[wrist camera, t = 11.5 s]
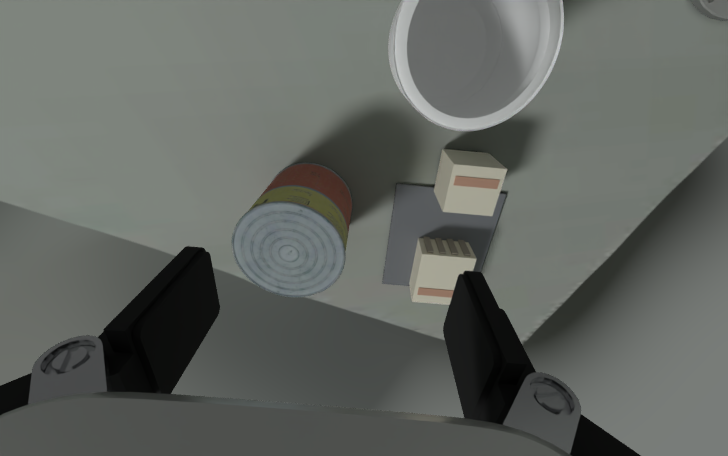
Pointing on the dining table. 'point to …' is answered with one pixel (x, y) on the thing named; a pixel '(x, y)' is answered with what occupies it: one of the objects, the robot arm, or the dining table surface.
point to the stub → (468, 182)
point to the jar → (473, 57)
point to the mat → (431, 229)
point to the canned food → (296, 232)
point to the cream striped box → (439, 269)
